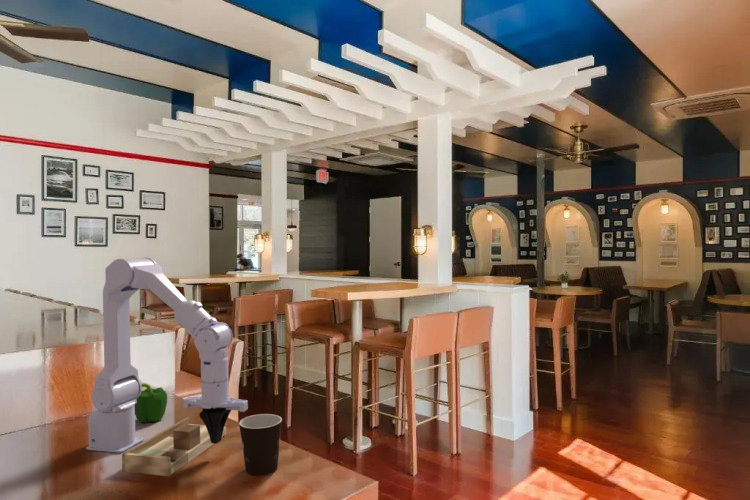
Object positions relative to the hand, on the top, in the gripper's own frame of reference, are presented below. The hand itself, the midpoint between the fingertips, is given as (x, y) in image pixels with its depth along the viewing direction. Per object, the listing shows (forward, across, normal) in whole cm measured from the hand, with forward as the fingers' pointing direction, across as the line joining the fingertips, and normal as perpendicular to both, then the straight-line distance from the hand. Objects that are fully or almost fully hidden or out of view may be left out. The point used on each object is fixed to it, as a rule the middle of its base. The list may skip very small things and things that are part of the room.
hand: (216, 441), depth 114 cm
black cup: (+4, +12, -2) cm, 13 cm away
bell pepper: (+3, -30, +18) cm, 35 cm away
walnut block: (+1, -7, 0) cm, 7 cm away
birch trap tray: (+3, -10, +1) cm, 10 cm away
